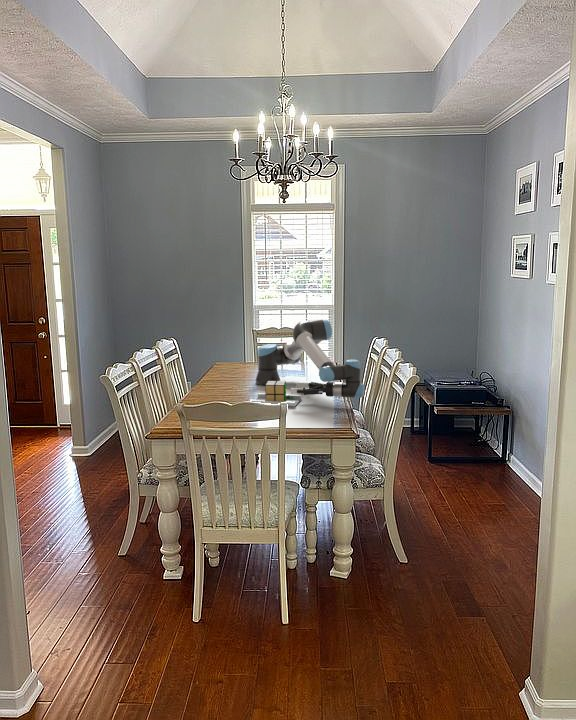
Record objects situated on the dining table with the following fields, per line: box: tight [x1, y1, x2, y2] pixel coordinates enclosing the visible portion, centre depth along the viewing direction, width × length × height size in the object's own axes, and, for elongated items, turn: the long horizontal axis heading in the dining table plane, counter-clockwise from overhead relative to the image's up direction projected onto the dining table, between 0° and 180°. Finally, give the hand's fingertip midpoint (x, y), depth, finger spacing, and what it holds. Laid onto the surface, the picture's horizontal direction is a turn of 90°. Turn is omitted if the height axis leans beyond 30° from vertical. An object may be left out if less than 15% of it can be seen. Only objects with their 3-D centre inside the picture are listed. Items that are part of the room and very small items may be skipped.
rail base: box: [249, 392, 302, 409], centre depth 315 cm, size 24×17×3 cm
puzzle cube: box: [264, 380, 287, 401], centre depth 314 cm, size 10×10×10 cm
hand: (293, 387), depth 311 cm, fingers open, 13 cm apart
